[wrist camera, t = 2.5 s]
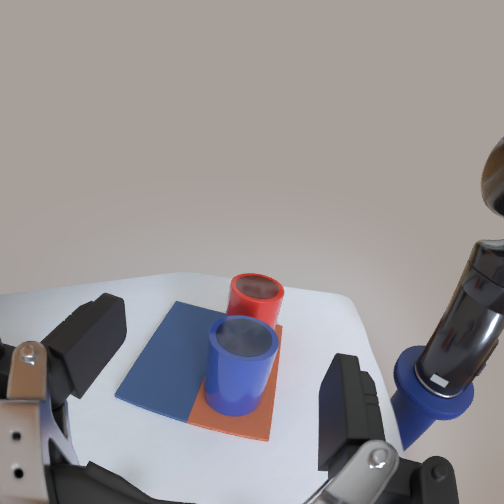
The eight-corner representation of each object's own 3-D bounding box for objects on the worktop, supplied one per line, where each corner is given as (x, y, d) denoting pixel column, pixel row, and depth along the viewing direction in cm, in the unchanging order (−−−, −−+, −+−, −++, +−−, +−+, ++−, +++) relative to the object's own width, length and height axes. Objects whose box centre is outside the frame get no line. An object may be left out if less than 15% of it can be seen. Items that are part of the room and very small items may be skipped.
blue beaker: (264, 379, 30) (281, 322, 27) (257, 422, 25) (276, 368, 21) (211, 367, 31) (218, 308, 27) (196, 407, 25) (200, 350, 22)
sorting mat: (281, 328, 40) (282, 326, 40) (267, 441, 23) (268, 439, 23) (176, 303, 42) (176, 300, 41) (115, 396, 24) (114, 394, 24)
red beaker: (271, 332, 39) (285, 279, 35) (267, 362, 33) (283, 306, 30) (227, 322, 39) (236, 268, 36) (217, 351, 33) (225, 294, 30)
